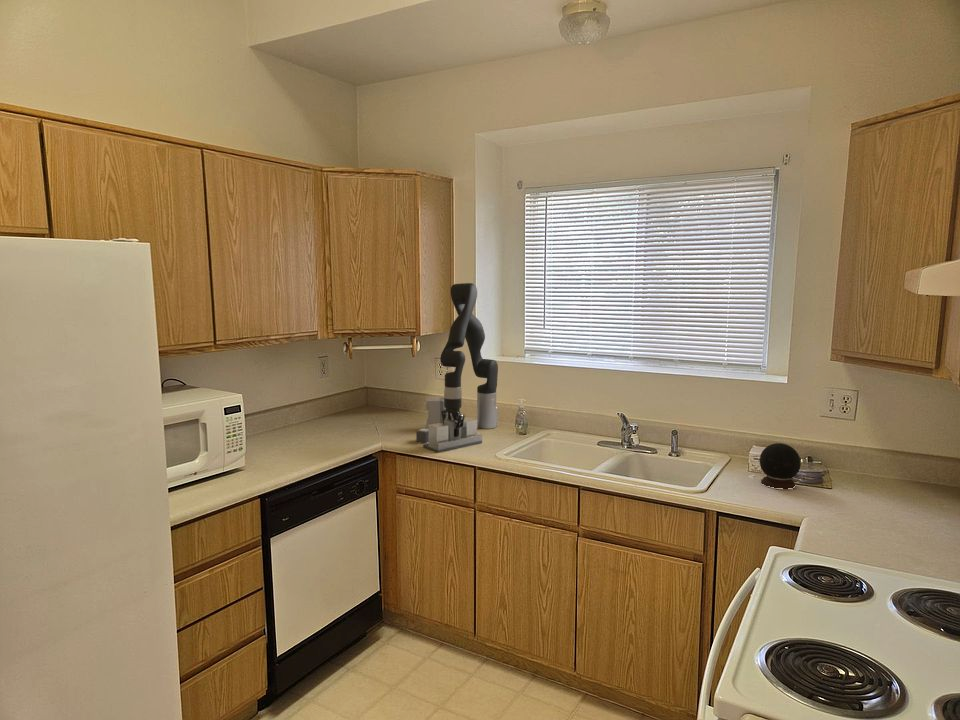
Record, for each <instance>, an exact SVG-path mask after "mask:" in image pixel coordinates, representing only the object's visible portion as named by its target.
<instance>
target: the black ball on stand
mask: <svg viewBox="0 0 960 720" xmlns="http://www.w3.org/2000/svg"><path fill="white" fill-rule="evenodd" d="M801 464H802V462H801V457H800V455H799V453H798V452H797V450H796V449H795V448H793V447H792V446H791V445H789V444H786V443H782V442H779V443H777V442H776V443H772V444H771V443H770V444H769V445H767V446H766V447H765V448H764V449H763V450H762V451H761V453H760V455H759V466H760V469H761V470H762V472H763V474H764V475H766V476H764V477H763V478H761V480H760V483H762V484H764V485H766V486H770V487H774V488H783V489H788V488H793V487H794V486H795V484H796V483H795V481H794V480H793V478H795V477H796V476H797V474H799V472H800V469H801V466H802V465H801ZM762 484H761V485H762ZM764 485H763V486H764ZM766 486H765V487H766Z"/></svg>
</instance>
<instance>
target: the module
mask: <svg viewBox="0 0 960 720" xmlns="http://www.w3.org/2000/svg"><path fill="white" fill-rule="evenodd" d="M454 421H458V419H457V420H454ZM444 424H445V425H448V440H450V441H451V440H456V439H461V427H460V428H459V436H458V437H454V423H453V420H449V419H448V420H444ZM460 424H461V423H460ZM456 425H457V423H456Z"/></svg>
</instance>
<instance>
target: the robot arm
mask: <svg viewBox="0 0 960 720" xmlns="http://www.w3.org/2000/svg"><path fill="white" fill-rule="evenodd" d="M450 299H451V301H452V304H453V306H454V309H455V311H456V313H457V317H456V318H455V319H454V320H453V323H452V324H451V326H450V329H449V332H448V333H449V334H448V340H447V342H446V344H445V346H444V348H443V350H442V351H441V353H440V359H439V360H440V363H441V365H442V366H443V367H445V368H446V367H447V368H454V370H453V371H450V372H446V373H445V374H444V391H443V398H444V407H445V408H446V410H442V411H441V413H442V419H443V424H444V420H445V418H446V420H448V419H449V420H453V423H454V437H458V436H459V428H460V427H463V422H464V418H466V415H465V414H463V413H461V411H460V409H461V408H462V403H463V402H462V399H463V398H462V394H463V393H462V373H463V370H464V366H465V363H466V355H465V353H464V351H462V350H456V349H460V348H463V347H464V344H465V341H466V343H467V347H468V350H469V356H470V359H471V364H472V369H473V373H474V374H475V376H476V377H478V378H480V379H486V382H485V383H482V384H480V385H478V386H476V387H477V388H476V391H477V392H476V409H477V410H476V420H477V429H478V428H479V429H486V430H488V429H495V428H496V427H498V420H499V419H498V416H499V414H498V413H499V411H498V410H499V408H498V406H497V387H498V376H499V375H498V374H499V364H498V362H497V360H496V359H490V358H483V357H482V354H481V350H482V347H483V345H484V343H485V339H486V334H485V330H484V327H483V324H482V323H481V321H480V319H478V318H477V316H475V314H473V311H474V308H475V305H476V302H477V299H478V288H477V286H476V285H475V283H474V282H473V283H472V282H471V283H470V282H465V283H464V282H463V283H454V284H452V285H451V286H450ZM457 419H458V421H454V420H457ZM456 423H457V425H456ZM460 423H461V424H460Z"/></svg>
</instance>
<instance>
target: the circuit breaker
mask: <svg viewBox="0 0 960 720" xmlns="http://www.w3.org/2000/svg"><path fill="white" fill-rule="evenodd" d="M425 410H426V411H427V420H426V422H425V426H426V427H425V429H429V425H431V424H436V423H442V424H443V419H442V413H441V411H442V410H446V408H445V407H444V397H428V398H427V399H426V403H425ZM445 420H446V418H445Z"/></svg>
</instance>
